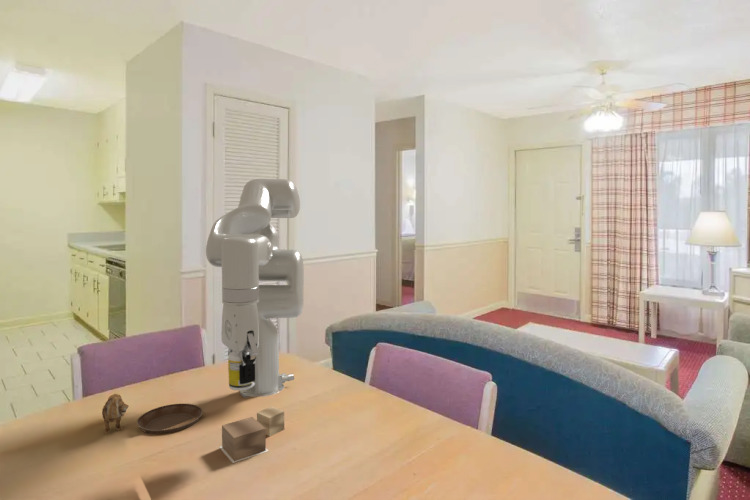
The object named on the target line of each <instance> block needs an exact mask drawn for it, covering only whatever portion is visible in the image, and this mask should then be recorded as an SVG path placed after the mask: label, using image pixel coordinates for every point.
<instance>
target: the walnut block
mask: <svg viewBox="0 0 750 500" xmlns="http://www.w3.org/2000/svg"><path fill="white" fill-rule="evenodd" d="M266 437H267V435H266V428H265V427H263V426H262V425H261V424H260V423H259V422H258V421H257V419H256V418H254V417H253V416H250V417H246V418H244V419H239V420H236V421H232V422H228V423H226V424H222V425H221V446H222V448H223V449H224V450H225V451H226V452H227V453H228V454H229V456H230V457H231V458H232V459H233V460H234V461H236V460H239V459H242V458H245V457H248V456H251V455H254V454H257V453H260V452H263V451H266V449H267V445H266V444H267V443H266V442H267V441H266V440H267V438H266Z"/></svg>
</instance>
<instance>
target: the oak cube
mask: <svg viewBox="0 0 750 500" xmlns="http://www.w3.org/2000/svg"><path fill="white" fill-rule="evenodd" d="M256 420H257V421H258V422H259V423H260V424H261V425H262V426H263V427H265V428H266V437H272V436H274V435H276V434H278V433H280V432H282V431H284V430H285V410H282V409H280V408H278V407H275V406H273V405H272V406H269V407H266V408H265V409H262V410H260V411H257V412H256Z"/></svg>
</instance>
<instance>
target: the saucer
mask: <svg viewBox="0 0 750 500" xmlns="http://www.w3.org/2000/svg"><path fill="white" fill-rule="evenodd" d="M202 415H203V409H202V408H201V407H200V406H198V405H196V404H192V403H173V404H166V405H162V406H159V407H155V408H153V409H150V410H148V411H146V412H144V413H142V414H141V415H140V416H139V417H138V419H136V425H137V426H138V427H139V429H140V430H141V431H143V432H144V433H146V434H169V433H174V432H178V431H181V430H184V429H187V428H189V427H191V426H193V425H194V424H195V423H197V422H198V421H199V420H200V418H201V417H202ZM195 418H196V419H195ZM193 419H194V420H193ZM191 420H192V421H191ZM188 421H190V422H189V423H186V424H184V425H180V424H183V423H185V422H188ZM178 425H180V426H178ZM174 426H177V427H174ZM172 427H173V428H172Z"/></svg>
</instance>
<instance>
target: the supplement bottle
mask: <svg viewBox="0 0 750 500" xmlns="http://www.w3.org/2000/svg"><path fill="white" fill-rule="evenodd" d="M247 349H249V347H244V350H247ZM248 354H249V352H247V353H244V355H245V357H246V355H248ZM227 363H228V366H227V367H228V388H229V389H230V390H233V391H240V390H247V389H250V388H252V387H253V386H254V385H255V381H254V382H249V383H245V384H241V383H240V377H239V365H241V359H240V352H239V353H236V352H234V351H232V352H230V354H229V355H228V354H227Z"/></svg>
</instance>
